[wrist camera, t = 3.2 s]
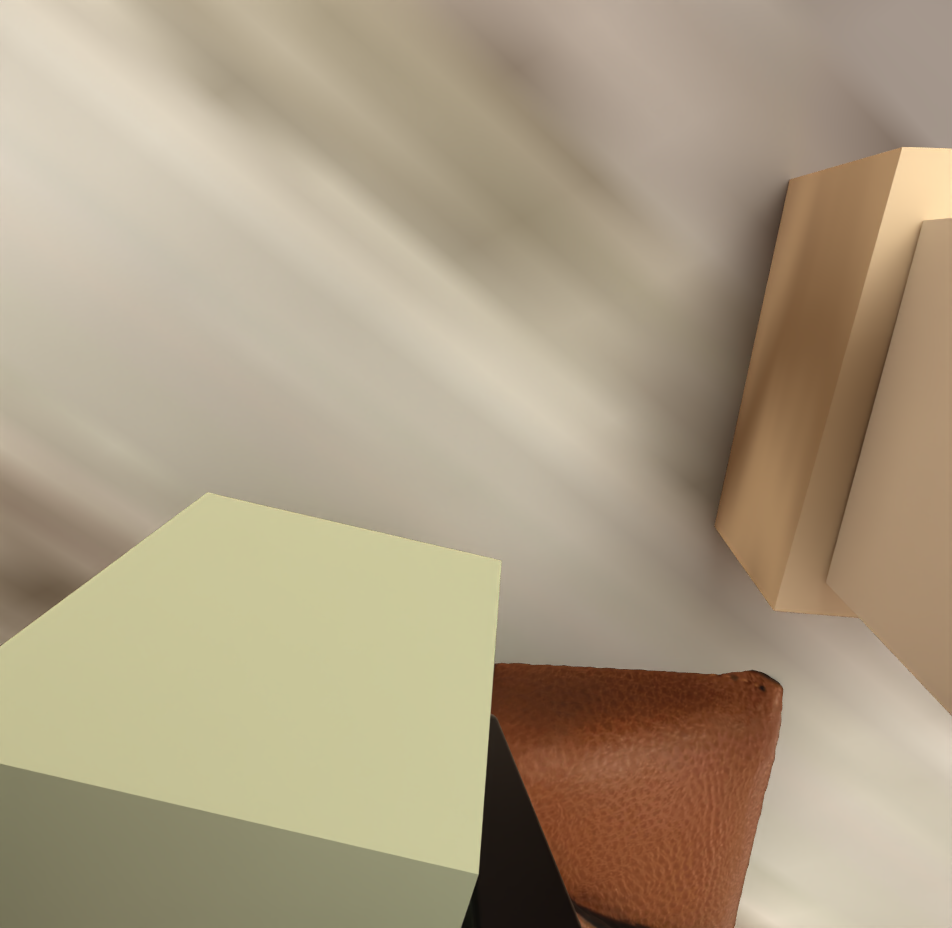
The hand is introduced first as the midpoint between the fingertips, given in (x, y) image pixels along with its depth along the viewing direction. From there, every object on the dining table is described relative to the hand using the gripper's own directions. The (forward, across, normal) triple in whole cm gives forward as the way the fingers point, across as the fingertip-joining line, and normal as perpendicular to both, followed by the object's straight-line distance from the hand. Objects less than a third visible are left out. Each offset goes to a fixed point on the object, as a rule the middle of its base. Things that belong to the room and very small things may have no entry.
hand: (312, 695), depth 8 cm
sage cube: (+1, 0, 0) cm, 1 cm away
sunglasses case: (+6, -8, +11) cm, 15 cm away
